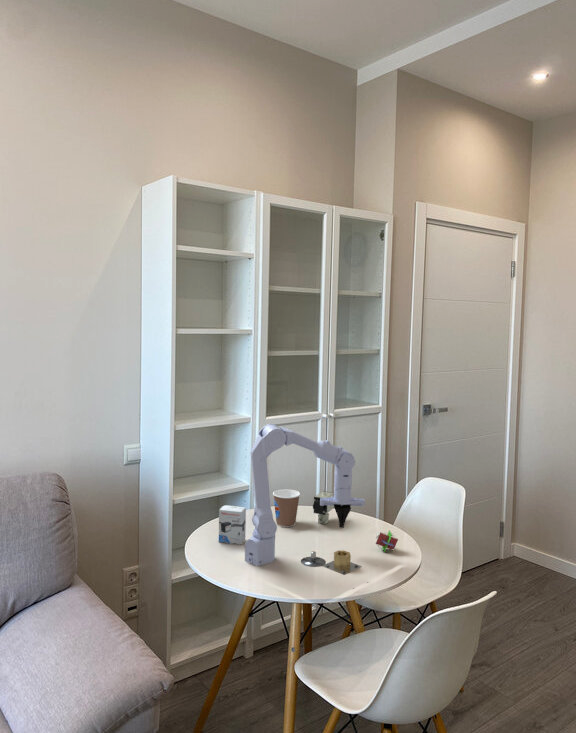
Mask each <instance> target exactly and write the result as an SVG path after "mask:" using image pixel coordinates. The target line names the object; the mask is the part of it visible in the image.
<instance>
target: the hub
mask: <svg viewBox="0 0 576 733" xmlns="http://www.w3.org/2000/svg"><path fill="white" fill-rule="evenodd" d="M322 567H323V568H326V569H328V570H331V571H333V572H335V573H337V574H341V575H343V576H345V575H348V574H349V573H350V574H351V573H352V572H354V571H356V570H358V569H361V568H362V565H359V564H358V563H357V564H356V563H354V562H351V561H350V568H348V569H337V568H335V567H334V560H332V561H329V562H326V563H325V565H323V566H322Z"/></svg>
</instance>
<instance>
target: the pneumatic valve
mask: <svg viewBox="0 0 576 733" xmlns="http://www.w3.org/2000/svg"><path fill="white" fill-rule="evenodd" d="M332 497H334V492H331V491H325V490H322V491H321V492H320V493H318V494H317V495H315V496H314V497H313V504H312V509H313V514H317V517H318V518H317V523H318V524H322V525H326V524H328V523H329V522H330V520H329V518H330V517H329V516H330V513H329V512H331V511H332V510H333V509H335V508H334V505H324V506H320V498H332Z"/></svg>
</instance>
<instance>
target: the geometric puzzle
mask: <svg viewBox="0 0 576 733" xmlns="http://www.w3.org/2000/svg"><path fill="white" fill-rule="evenodd" d="M398 541H399V538H396V536H394V535H393V533H392V532H391V530H388V533H387V531H385V532H378V533H377V534H376V536H375V543H374V544H375V545H376V546H378V548H381V547H382V548H383V550H384V551H383V550H382V551H383V553H384V552H386V550H388V549H389V550H391V549H394V550H395V548H396V546H397V543H398ZM382 548H381V549H382Z"/></svg>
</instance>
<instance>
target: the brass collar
mask: <svg viewBox="0 0 576 733" xmlns="http://www.w3.org/2000/svg"><path fill="white" fill-rule="evenodd" d="M351 556H352V555H351V552H350V551H346V550H336V551H335V552H333V561H334V567H335V568H337V569H348V568H350V562H351V559H352V557H351Z"/></svg>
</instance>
